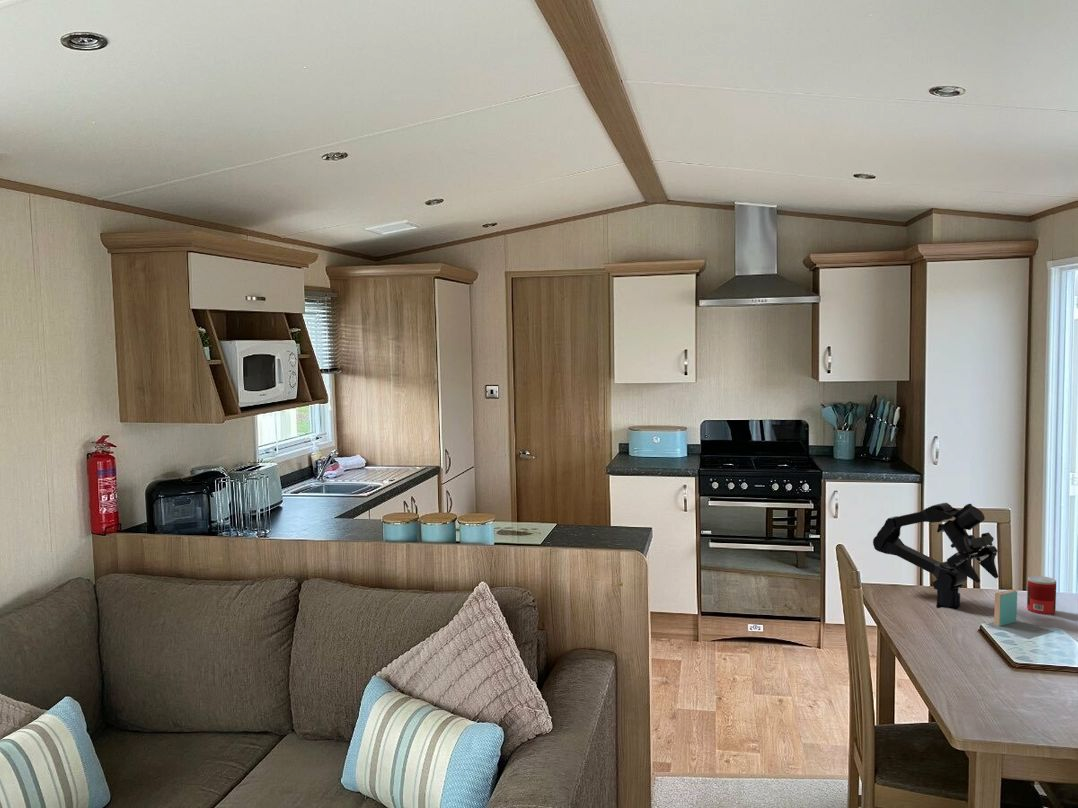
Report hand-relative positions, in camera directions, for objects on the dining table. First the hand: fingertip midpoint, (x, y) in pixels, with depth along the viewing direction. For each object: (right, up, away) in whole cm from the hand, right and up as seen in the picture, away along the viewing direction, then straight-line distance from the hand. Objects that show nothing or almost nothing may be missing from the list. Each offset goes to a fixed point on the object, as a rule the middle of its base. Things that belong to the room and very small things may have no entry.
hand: (988, 580), depth 267 cm
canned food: (+21, -12, +6) cm, 25 cm away
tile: (+3, -13, -5) cm, 14 cm away
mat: (+5, -13, -9) cm, 17 cm away
